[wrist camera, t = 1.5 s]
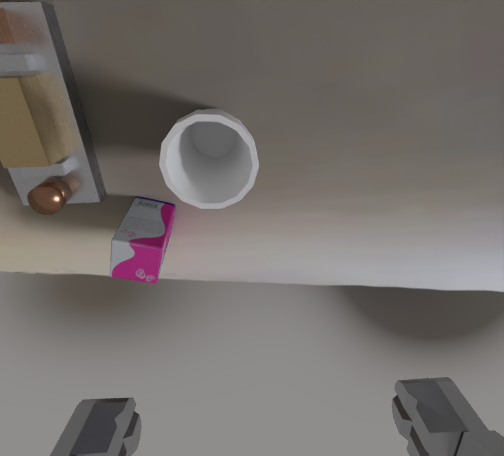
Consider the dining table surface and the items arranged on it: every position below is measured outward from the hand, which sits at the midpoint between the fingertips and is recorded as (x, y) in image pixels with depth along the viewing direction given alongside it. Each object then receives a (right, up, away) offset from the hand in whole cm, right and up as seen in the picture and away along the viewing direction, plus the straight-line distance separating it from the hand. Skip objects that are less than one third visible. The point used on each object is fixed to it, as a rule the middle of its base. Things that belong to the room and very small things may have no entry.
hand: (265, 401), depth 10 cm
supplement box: (-15, +7, +37) cm, 40 cm away
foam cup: (-5, +18, +31) cm, 36 cm away
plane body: (-26, +19, +28) cm, 43 cm away
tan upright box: (-26, +18, +26) cm, 41 cm away
